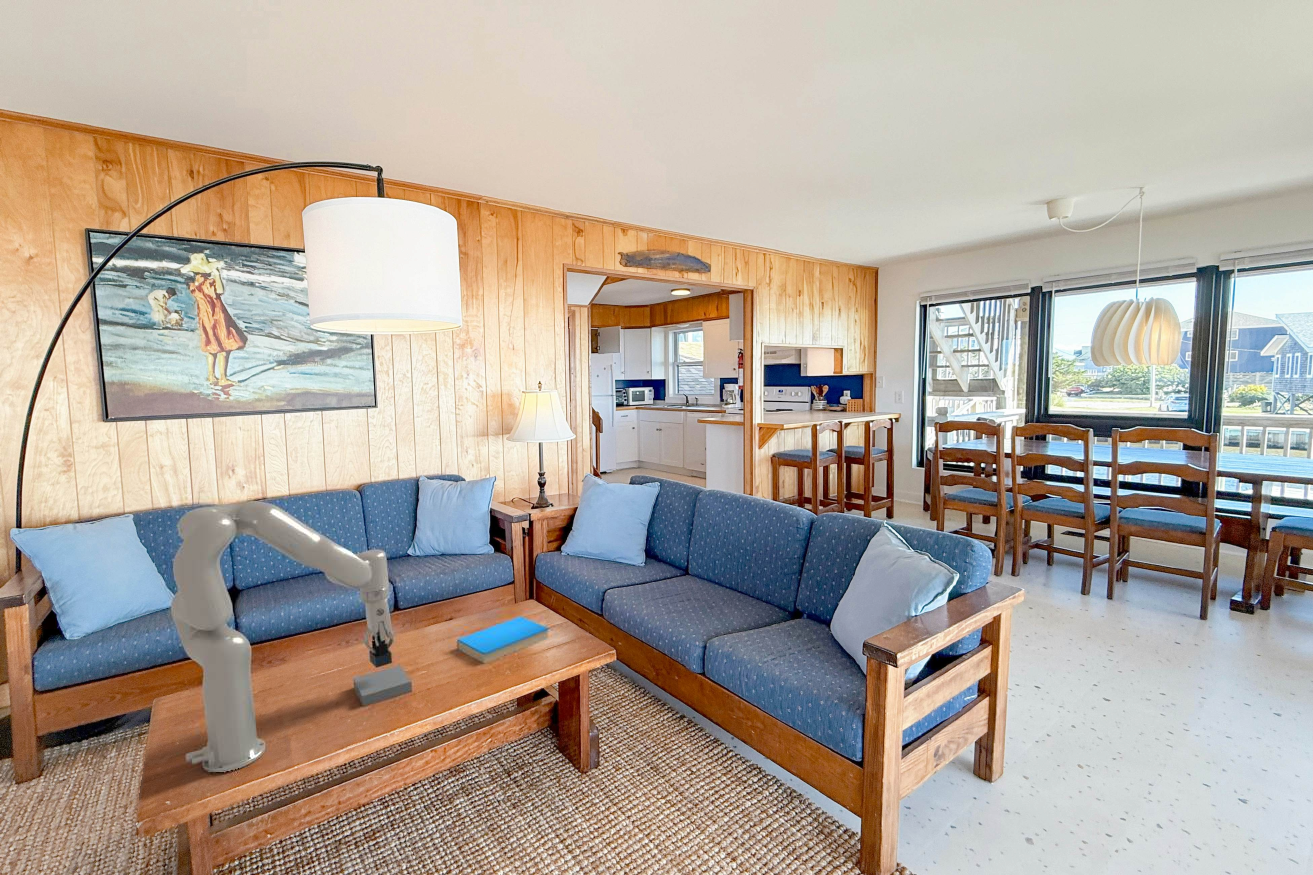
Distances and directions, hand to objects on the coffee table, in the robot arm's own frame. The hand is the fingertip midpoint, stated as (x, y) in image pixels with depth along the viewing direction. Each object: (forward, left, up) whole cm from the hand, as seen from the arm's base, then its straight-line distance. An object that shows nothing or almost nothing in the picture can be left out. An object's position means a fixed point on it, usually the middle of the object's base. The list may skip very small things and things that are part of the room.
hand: (380, 654), depth 180 cm
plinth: (0, 0, -11) cm, 11 cm away
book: (+40, +7, -11) cm, 42 cm away
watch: (0, 0, -2) cm, 2 cm away
